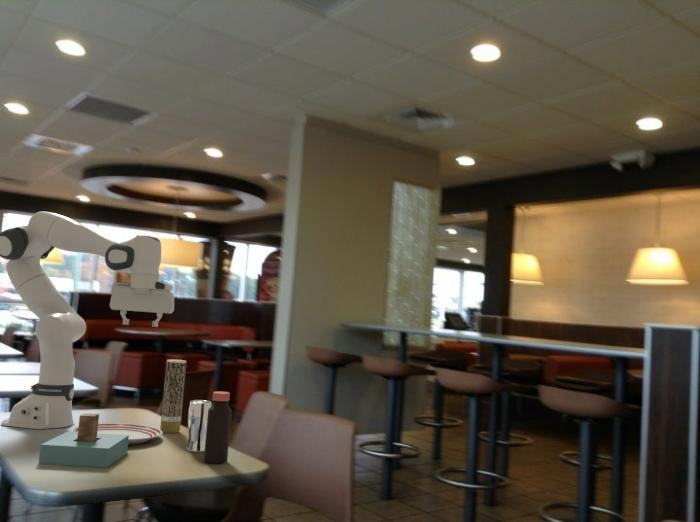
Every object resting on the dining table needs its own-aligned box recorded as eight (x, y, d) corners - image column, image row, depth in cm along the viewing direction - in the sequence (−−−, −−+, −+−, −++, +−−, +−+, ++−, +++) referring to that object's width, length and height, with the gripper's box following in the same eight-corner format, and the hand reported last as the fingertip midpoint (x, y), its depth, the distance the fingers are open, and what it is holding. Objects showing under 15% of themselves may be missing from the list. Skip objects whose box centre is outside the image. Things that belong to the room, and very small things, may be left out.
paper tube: (182, 431, 219) (189, 360, 221) (175, 434, 212) (182, 361, 214) (164, 429, 220) (171, 359, 222) (156, 432, 213) (163, 360, 215)
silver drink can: (187, 447, 195) (191, 399, 196) (209, 448, 196) (213, 400, 197) (183, 452, 188) (187, 402, 189) (206, 453, 189) (210, 403, 190)
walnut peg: (75, 458, 171) (79, 415, 172) (80, 455, 175) (85, 413, 176) (89, 459, 172) (94, 416, 173) (94, 456, 176) (99, 413, 177)
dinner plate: (138, 428, 219) (139, 419, 219) (177, 444, 199) (178, 433, 200) (58, 435, 199) (59, 425, 200) (93, 453, 180) (94, 441, 180)
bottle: (207, 458, 183) (213, 390, 185) (229, 459, 183) (235, 392, 184) (200, 463, 176) (207, 393, 178) (224, 465, 176) (230, 394, 178)
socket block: (38, 463, 164) (40, 444, 165) (65, 448, 182) (67, 431, 182) (106, 467, 165) (108, 448, 165) (127, 452, 183) (128, 435, 183)
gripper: (109, 280, 198) (104, 323, 197) (173, 285, 199) (169, 328, 198) (115, 281, 205) (111, 323, 203) (177, 286, 206) (173, 327, 205)
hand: (140, 325), depth 201 cm, fingers open, 8 cm apart
